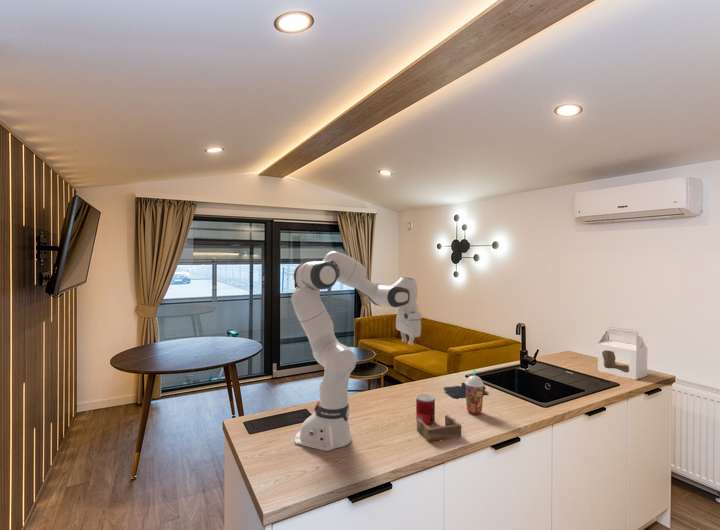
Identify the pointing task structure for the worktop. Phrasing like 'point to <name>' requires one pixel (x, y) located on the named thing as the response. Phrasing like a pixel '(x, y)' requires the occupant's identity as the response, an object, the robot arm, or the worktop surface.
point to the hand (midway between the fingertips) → (407, 343)
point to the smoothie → (474, 394)
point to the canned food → (425, 409)
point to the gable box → (636, 353)
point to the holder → (440, 430)
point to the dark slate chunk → (459, 391)
